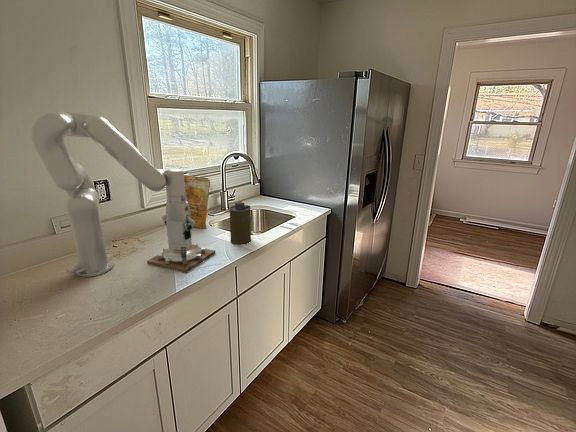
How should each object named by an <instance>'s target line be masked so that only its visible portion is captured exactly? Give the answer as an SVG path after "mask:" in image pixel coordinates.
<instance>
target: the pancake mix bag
mask: <svg viewBox="0 0 576 432" xmlns="http://www.w3.org/2000/svg"><path fill="white" fill-rule="evenodd" d="M184 181H185V194H186V197H187V200H186V201H187V202H188V204H189V208H190V213H191V219H193V220H194V221H195V224H194V227H193V228H197V229H207V224H206V222H207V216H208V215H207V214H208V204H209V194H210V187H211V180H210V179H209V178H207V177H201V176H200V177H199V176H194V175H185V174H184Z"/></svg>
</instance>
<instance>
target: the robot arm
mask: <svg viewBox="0 0 576 432" xmlns="http://www.w3.org/2000/svg"><path fill="white" fill-rule="evenodd" d="M30 134H31V136H30V138H31V142H32V144H33V146H34V149H35V151H36V152H37V154H38V156H39V157H40V159H41V161H42V163H43V165H44V167H45V168H46V171H47V172H48V174H49V176H50V177H51V179H52V181H53V183H54V186H56V187H57V188H58V189H60V190H63V191H65V192H66V195H67V196H68V197H69V198H68V199H67V202H66V207H65V208H66V213H67V217H68V220H69V222H70V227H71V230H72V235H73V239H74V244H75V249H76V253H77V259H78V262H76V263H75V264H76V265H75V266H74V267H72V268H69V269H67V270H66V273H67V275H69V276H70V275H72V274H74V273H75V275H77V276H78V277H85V278H87V277H95V276H100V275H103V274H106V273H107V272H109V271H111V270H112V269H113V267H114V263H113V261H111V260H108V254H107V249H106V242H105V237H104V231H103V227H102V226H103V225H102V222H101V221H102V220H101V217H100V212H99V206H100V205H99V203H100V196H99V193H98V191H97V189H96V188H95V186H94V184H93V182H92V180H91V178H90V176H89V174H88V172H87V171H86V169H85V168H84V166H83V165H81V164H80V163H79V162H76V161H75V160H74V159H73V156H72V154H71V152H70V151H69V149H68V147H67V146H66V144H65V142H64V141H65V140H64V138H65V137H67V136H68V137H77V138H86V139H87V138H89V139H91V140H92V141H93V142H94V143H96V144H97V145H98V146H99V148H101V149H102V150H104V151H105V152H106V153H107V154H108V155H110V156H111V158H113V159H114V160H115V161H116V162H117V163H118V164H119V165H120V166H122V167H123V168H124V169H125V170H127V172H128V173H130V174H131V175H132V176H133V177H134V178H135V179H136V180H138V182H140V183H141V184H143V186H144V187H146V188H147V189H148V190H150V191H151V192H152V191H153V192H160V191H162V190H164V188H165V192H166V202H165V203H166V204H165V214H164V215H163V216H162V217H161V219H162V221H163V222H164V224H165V226H166V228H167V224H166V222H167V221H169V220H171V221H177V222H182V223H183V226H184V229H185V230H186V231H185V232H184V233H185V240H187V239H189V238H192V229H193V228H195V227H194V224H195V221H194V220H193V219H191V213H190V208H189V204H188V202H187V201H186V200H187V197H186V194H185V181H184V175H185V173H184V170H183V169H180V168H168V169H164V168H163V169H161V168H156V167H154V165H152V164H151V162H149V161H148V160H147V158H145V157H144V156H143V155H142V154H141V152H140V151H139V149H138V148H137V147H136V146H135V145H134V144H133V143H132V142H131V141H130V140H129V139H127V137H125V136H124V135H123V134H122V133H121V132H120V131H119V130H117V128H115V126H113V125H112V124H111V123H110V121H109V120H108V119H107V118H105V117H104V116H101V115H94V114H93V115H92V114H84V113H83V114H82V113H73V112H67V111H61V110H60V111H58V110H51V111H50V110H49V111H47V112H45V113H43V114H41V115H40V116H39V117H38V118H37V119H36V120H35V121H34V123H33V124H32V128H31V132H30ZM187 220H188V221H187ZM186 221H187V223H186ZM189 223H190V224H189ZM186 225H187V226H188V227H187V226H186Z"/></svg>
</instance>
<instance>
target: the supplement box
mask: <svg viewBox="0 0 576 432" xmlns="http://www.w3.org/2000/svg"><path fill="white" fill-rule="evenodd" d="M187 221H188V220H187ZM187 221H186V223H187ZM166 224H167V225H166ZM166 224H165V225H166V226H167V227H166V231H167V233H166V234H167V242H168V243H167V244H168V248H169V249H175V250H181V247H186V248H187V247H189V246H190V245H192V244H193V240H192V238H193V237H191V238H189V239H187V240H185V233H184V232H185V231H186V230H185V229H184V226H183V223H182V222H177V221H171V220H169V221H167V222H166ZM189 224H190V223H189ZM186 226H187V225H186ZM187 227H188V226H187Z"/></svg>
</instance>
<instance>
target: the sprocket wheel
mask: <svg viewBox="0 0 576 432" xmlns="http://www.w3.org/2000/svg"><path fill="white" fill-rule="evenodd" d="M205 249H206V248H205V247H201V246H199V245H198V243H195V242H193V243H192V245H190V246H189V247H187V248H186V247H181V250H175V249H169V246H168V247H167V246H165V247H164V248H163V249H162V251H163V252H161V253H162V254H161V253H158V254H157V255H158V257H159V259H164V260H165V264H170V263H183V264H188V263H187V262H189V261H193V260H195V259H201V258H202V253H203V252H205Z"/></svg>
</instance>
